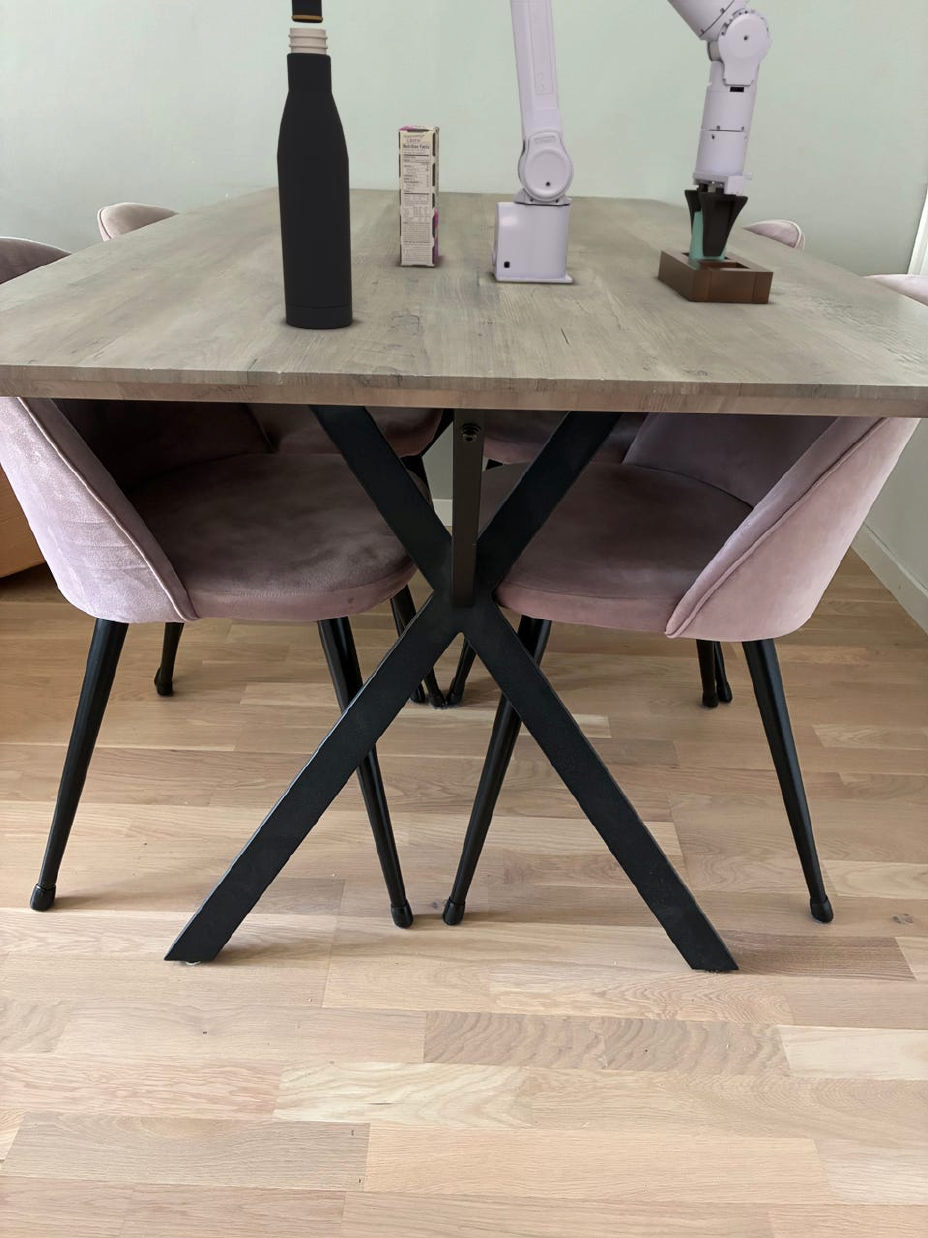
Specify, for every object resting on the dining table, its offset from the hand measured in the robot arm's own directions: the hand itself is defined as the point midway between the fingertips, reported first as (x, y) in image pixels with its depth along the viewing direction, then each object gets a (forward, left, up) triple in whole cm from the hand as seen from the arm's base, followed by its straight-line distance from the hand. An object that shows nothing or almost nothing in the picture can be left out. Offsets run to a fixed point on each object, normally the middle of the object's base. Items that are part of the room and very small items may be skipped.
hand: (706, 252), depth 116 cm
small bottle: (0, 0, -2) cm, 2 cm away
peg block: (0, -4, -4) cm, 5 cm away
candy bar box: (-36, +13, -4) cm, 39 cm away
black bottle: (-46, -29, -4) cm, 54 cm away
